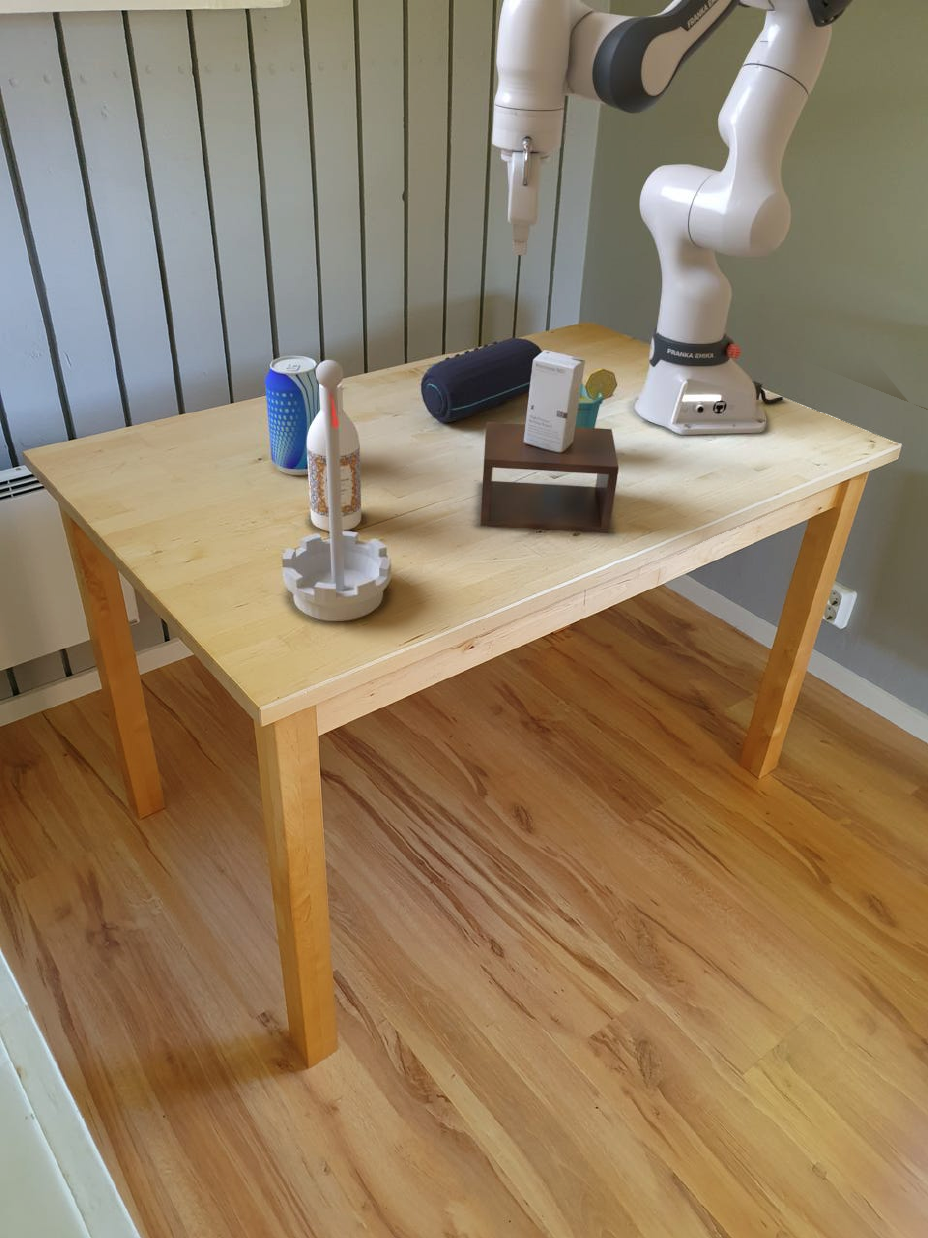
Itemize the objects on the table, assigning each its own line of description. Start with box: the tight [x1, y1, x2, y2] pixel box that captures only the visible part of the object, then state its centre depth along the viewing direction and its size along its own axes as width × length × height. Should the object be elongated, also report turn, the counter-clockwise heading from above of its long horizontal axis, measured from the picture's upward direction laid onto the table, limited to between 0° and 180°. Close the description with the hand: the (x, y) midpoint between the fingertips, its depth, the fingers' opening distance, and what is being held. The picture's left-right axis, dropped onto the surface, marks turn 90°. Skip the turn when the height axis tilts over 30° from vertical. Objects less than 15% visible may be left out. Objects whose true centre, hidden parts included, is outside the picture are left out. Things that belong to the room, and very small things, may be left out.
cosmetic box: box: [524, 349, 586, 452], centre depth 129 cm, size 6×4×12 cm
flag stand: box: [281, 359, 392, 622], centre depth 110 cm, size 13×13×30 cm
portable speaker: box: [420, 337, 543, 423], centre depth 164 cm, size 25×10×10 cm, turn 136°
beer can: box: [264, 355, 320, 476], centre depth 142 cm, size 8×8×16 cm
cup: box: [575, 367, 618, 428], centre depth 148 cm, size 14×8×15 cm, turn 119°
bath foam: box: [307, 382, 362, 532], centre depth 128 cm, size 7×7×20 cm
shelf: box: [479, 421, 620, 534], centre depth 136 cm, size 18×12×10 cm, turn 87°
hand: (519, 244), depth 130 cm, fingers open, 8 cm apart
